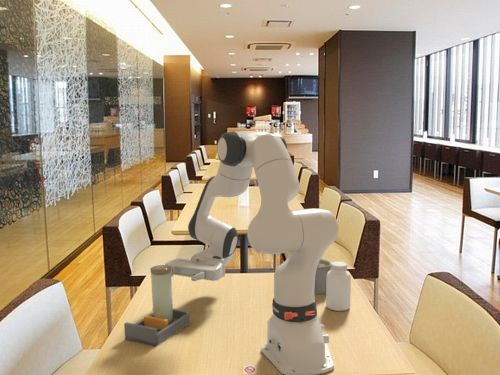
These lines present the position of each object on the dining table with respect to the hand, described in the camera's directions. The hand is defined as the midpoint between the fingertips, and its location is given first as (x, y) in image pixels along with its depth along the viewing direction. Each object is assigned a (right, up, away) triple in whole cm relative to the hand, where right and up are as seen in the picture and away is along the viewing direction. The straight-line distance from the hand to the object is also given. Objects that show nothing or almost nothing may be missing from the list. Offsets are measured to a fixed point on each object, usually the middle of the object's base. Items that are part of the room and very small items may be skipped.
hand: (180, 276), depth 166 cm
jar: (-4, -13, -7) cm, 16 cm away
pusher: (-6, -14, -11) cm, 18 cm away
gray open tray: (-5, -15, -9) cm, 18 cm away
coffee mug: (+49, -9, +23) cm, 54 cm away
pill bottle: (+52, -11, +6) cm, 53 cm away
